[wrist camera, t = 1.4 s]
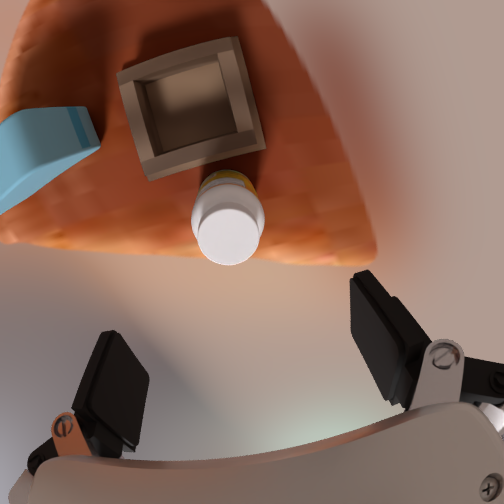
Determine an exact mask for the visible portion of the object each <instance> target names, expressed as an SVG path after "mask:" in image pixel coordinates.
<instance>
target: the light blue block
mask: <svg viewBox="0 0 504 504" xmlns="http://www.w3.org/2000/svg"><path fill="white" fill-rule="evenodd" d="M100 147H101V144H100V141H99V139H98V136H97V134H96V131H95V129H94V126H93V124H92V121H91V118H90V116H89V113H88V110H87V108H86V107H83V106H78V107H47V108H32V109H24V110H21V111H18V112H16V113H14V114H12V115H11V116H9V117H8V118H6V119H5V120H4V121H3V122H2V123H1V124H0V215H1V214H2V213H4V212H5V211H7V210H9V209H10V208H12V207H13V206H15V205H17V204H18V203H20V202H22V201H23V200H25V199H26V198H28V197H29V196H31V195H32V194H34V193H35V192H36V191H38V190H39V189H40V188H42V187H43V186H44V185H46V184H47V183H48V182H50V181H51V180H52V179H54V178H55V177H57V176H58V175H59V174H61V173H62V172H64V171H65V170H67V169H68V168H70V167H71V166H73V165H74V164H76V163H77V162H79V161H80V160H82V159H83V158H85V157H87V156H88V155H90V154H91V153H93V152H95V151H96V150H98V149H99V148H100Z"/></svg>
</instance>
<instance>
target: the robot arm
mask: <svg viewBox="0 0 504 504" xmlns="http://www.w3.org/2000/svg"><path fill="white" fill-rule="evenodd" d="M350 308H351V309H350V311H351V334H352V337H353V339H354V341H355V342H356V344H357V346H358V348H359V350H360V352H361V354H362V356H363V358H364V360H365V362H366V364H367V366H368V368H369V370H370V372H371V374H372V376H373V378H374V380H375V382H376V384H377V386H378V388H379V390H380V392H381V394H382V396H383V398H384V400H385V401H387V400H389V401H390V403H391V405H392V406H393V405H395V404H398V403H400V404H401V406H402V407H403V408H405V410H404V412H403V413H401V414H398V415H395V416H393V417H390V418H387V419H384V420H381V421H379V422H376V423H373V424H371V425H368V426H365V427H362V428H360V429H357V430H353V431H350V432H347V433H344V434H340V435H337V436H334V437H331V438H327V439H324V440H320V441H316V442H312V443H308V444H304V445H300V446H296V447H292V448H287V449H282V450H277V451H271V452H266V453H260V454H253V455H246V456H239V457H230V458H220V459H208V460H189V461H147V460H130V459H124V457H123V456H122V450H123V451H124V452H135V449H136V446H137V445H138V444H139V439H140V432H141V426H142V419H143V413H144V408H145V402H146V397H147V391H148V386H149V375H148V373H147V371H146V370H145V369H144V367H143V366H142V365H141V363H140V362H139V361H138V359H137V358H136V356H135V355H134V353H133V352H132V351H131V349H130V348H129V346H128V345H127V343H126V342H125V340H124V339H123V337H122V336H121V334H119V333H117V332H116V331H114V330H111V331H105V332H102V333H101V334H100V336H99V339H98V341H97V343H96V345H95V348H94V350H93V352H92V355H91V357H90V360H89V362H88V365H87V367H86V369H85V372H84V375H83V377H82V380H81V382H80V385H79V388H78V390H77V393H76V396H75V399H74V402H73V404H72V407H71V408H72V409H73V410H74V411H75V413H74V415H73V414H72V413H70V412H64V413H61V414H60V415H58V416H57V417H56V418H55V420H54V421H53V423H52V427H51V433H52V437H51V438H50V439H49V440H47V441H46V442H45V443H43V444H42V445H41V446H39V447H38V448H37V449H36V450H34V451H33V452H32V453H31V454H30V456H29V458H28V462H27V466H28V470H29V471H28V470H27V469H25V471H24V472H23V473H22V475H21V476H20V477H19V479H18V480H17V482H16V483H15V484H14V486H13V487H12V489H11V490H10V492H9V496H8V499H9V503H10V504H504V364H501V363H495V362H490V361H484V360H480V359H474V358H470V357H465V356H464V352H463V350H462V348H461V347H460V346H459V345H458V344H457V343H456V342H454V341H452V340H449V339H439V340H435V341H434V342H432V341H431V340H430V338H429V337H428V336H427V334H426V333H425V332H424V330H423V329H422V328H421V327H420V325H419V324H418V323H417V321H416V320H415V319H414V318H413V316H412V315H411V314H410V312H409V311H408V310H407V309H406V308H405V306H404V305H403V304H402V303H401V301H400V300H399V299H398V298H397V297H395V296H393V297H391V296H390V295H389V293H388V292H387V291H386V290H385V289H384V287H383V286H382V285H381V284H380V283H379V282H378V280H377V279H376V278H375V277H374V275H373V274H372V273H371V272H370V271H369V270H364V271H362V272H358V273H355V274H354V276H353V278H351V279H350ZM499 434H500V435H501V436H500V435H499ZM501 437H502V438H501ZM502 439H503V440H502Z"/></svg>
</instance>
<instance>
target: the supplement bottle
mask: <svg viewBox="0 0 504 504" xmlns="http://www.w3.org/2000/svg"><path fill="white" fill-rule="evenodd" d="M264 221H265V218H264V211H263V208H262V205H261V203H260V200H259V198H258V196H257V193H256V191H255V189H254V187H253V185H252V183H251V182H250V180H249V179H248V178H247V177H246V176H245V175H243V174H242V173H240V172H237V171H234V170H220V171H217V172H214V173H212V174H211V175H209V176H208V177H207V178H206V179H205V180H204V181H203V183H202V185H201V186H200V189H199V191H198V194H197V198H196V201H195V204H194V207H193V211H192V218H191V224H192V229H193V232H194V235H195V237H196V239H197V240H198V244H199V247H200V249H201V251H202V252H203V254H204V255H205V256H206V257H207V258H208V259H210V260H211V261H213V262H215V263H218V264H223V265H234V264H238V263H241V262H243V261H245V260H246V259H248V258H249V257H250V256H251V255H252V254H253V253H254V252H255V250H256V248H257V246H258V243H259V238H260V236H261V234H262V231H263V228H264Z"/></svg>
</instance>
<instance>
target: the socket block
mask: <svg viewBox="0 0 504 504" xmlns="http://www.w3.org/2000/svg"><path fill="white" fill-rule="evenodd" d="M116 76H117V80H118V84H119V88H120V92H121V96H122V100H123V104H124V107H125V111H126V115H127V118H128V122H129V125H130V129H131V132H132V136H133V139H134V142H135V146H136V149H137V152H138V155H139V159H140V162H141V165H142V168H143V171H144V174H145V176H147V178H148V181H149V182H150V181H153V180H156V179H159V178H162V177H165V176H168V175H171V174H174V173H177V172H180V171H184V170H187V169H190V168H193V167H197V166H200V165H204V164H207V163H211V162H214V161H218V160H222V159H226V158H229V157H233V156H237V155H241V154H245V153H250V152H254V151H258V150H262V149H266V145H265V141H264V137H263V132H262V128H261V124H260V120H259V116H258V112H257V107H256V103H255V99H254V95H253V92H252V88H251V84H250V80H249V76H248V72H247V68H246V65H245V61H244V57H243V53H242V50H241V46H240V43H239V39H238V36H234V37H225V38H221V39H216V40H212V41H208V42H204V43H200V44H197V45H193V46H189V47H186V48H183V49H179V50H176V51H173V52H170V53H167V54H164V55H161V56H158V57H155V58H153V59H150V60H147V61H145V62H142V63H140V64H137V65H135V66H132V67H130V68H127V69H125V70H123V71H120V72H118V73H116Z"/></svg>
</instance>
